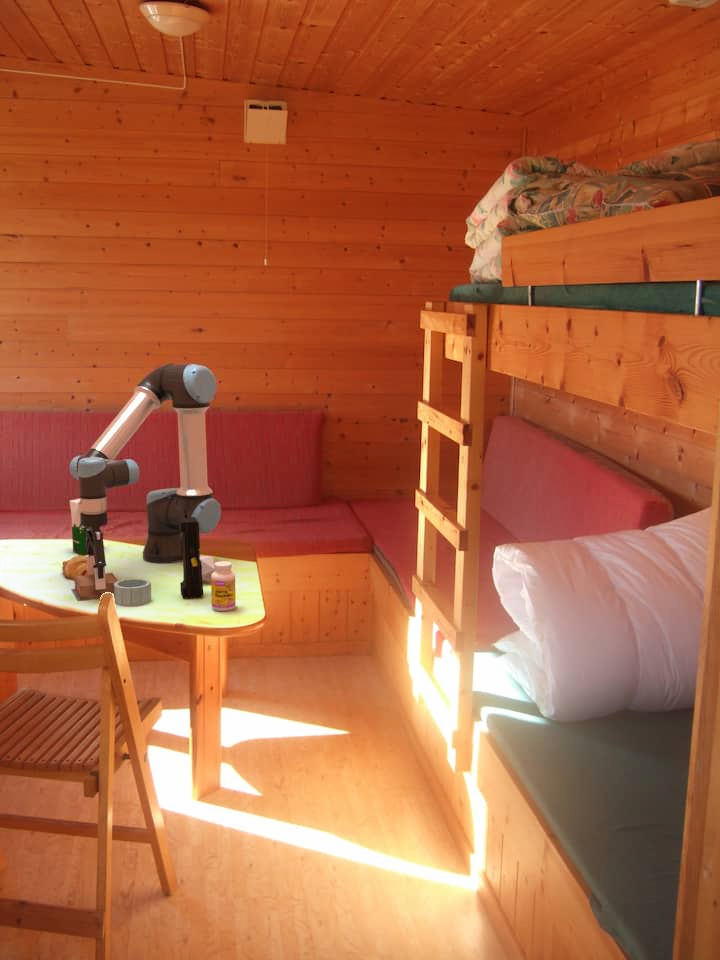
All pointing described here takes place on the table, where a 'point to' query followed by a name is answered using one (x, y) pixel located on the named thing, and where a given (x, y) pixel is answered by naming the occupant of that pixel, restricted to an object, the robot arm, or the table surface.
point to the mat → (78, 596)
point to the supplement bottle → (223, 587)
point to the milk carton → (77, 529)
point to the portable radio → (191, 558)
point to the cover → (93, 586)
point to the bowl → (132, 592)
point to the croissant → (75, 567)
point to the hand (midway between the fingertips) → (96, 582)
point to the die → (207, 568)
